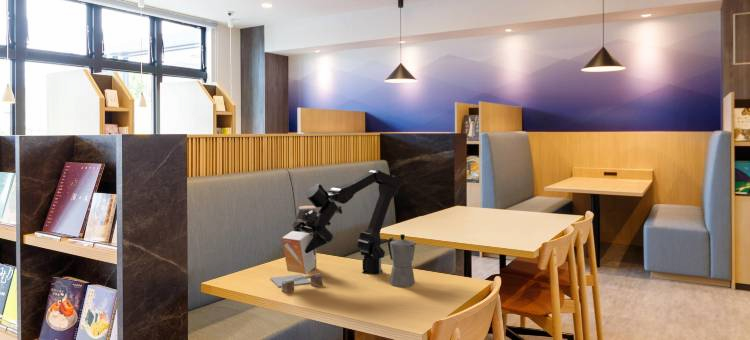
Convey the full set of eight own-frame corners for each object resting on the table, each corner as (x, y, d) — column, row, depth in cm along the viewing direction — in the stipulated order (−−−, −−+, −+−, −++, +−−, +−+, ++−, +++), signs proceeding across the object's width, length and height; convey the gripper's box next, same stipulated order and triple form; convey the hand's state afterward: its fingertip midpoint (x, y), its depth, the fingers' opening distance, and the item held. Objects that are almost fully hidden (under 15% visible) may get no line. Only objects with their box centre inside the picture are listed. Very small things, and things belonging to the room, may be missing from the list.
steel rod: (320, 275, 195) (320, 272, 195) (321, 275, 194) (321, 273, 194) (282, 283, 184) (282, 281, 184) (283, 284, 183) (283, 281, 183)
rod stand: (317, 283, 195) (317, 273, 195) (322, 284, 193) (322, 275, 193) (282, 291, 185) (281, 281, 185) (286, 293, 183) (286, 283, 183)
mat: (301, 275, 206) (301, 274, 206) (311, 283, 195) (311, 282, 195) (270, 278, 201) (270, 277, 201) (278, 287, 190) (278, 286, 190)
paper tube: (297, 267, 217) (296, 206, 215) (313, 266, 220) (312, 205, 218) (302, 271, 211) (301, 208, 209) (318, 270, 214) (318, 207, 212)
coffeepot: (423, 285, 192) (424, 235, 191) (402, 290, 187) (402, 238, 186) (398, 276, 205) (398, 229, 204) (377, 279, 200) (378, 231, 199)
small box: (287, 271, 190) (281, 237, 187) (298, 263, 195) (292, 230, 192) (305, 274, 186) (299, 240, 182) (316, 266, 191) (310, 232, 188)
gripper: (296, 198, 198) (270, 232, 192) (325, 204, 184) (298, 240, 178) (314, 217, 204) (290, 250, 198) (344, 224, 190) (318, 260, 183)
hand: (298, 250), depth 189 cm, fingers closed on small box, 9 cm apart
